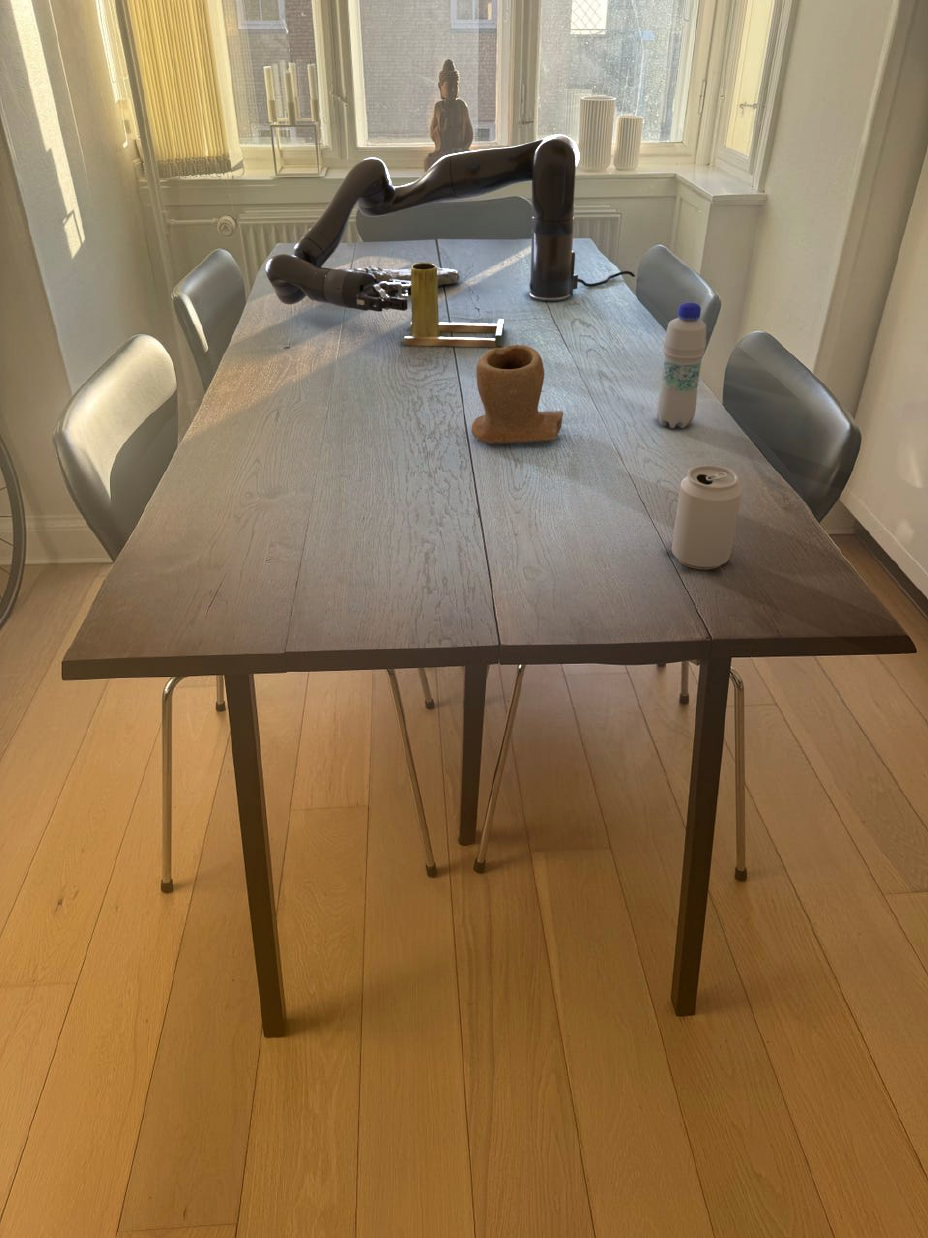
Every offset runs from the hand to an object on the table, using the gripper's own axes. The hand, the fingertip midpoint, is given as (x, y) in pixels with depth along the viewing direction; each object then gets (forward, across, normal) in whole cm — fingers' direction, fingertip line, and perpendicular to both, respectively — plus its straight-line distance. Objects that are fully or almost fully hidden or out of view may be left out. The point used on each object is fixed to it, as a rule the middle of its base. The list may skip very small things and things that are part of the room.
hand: (417, 299), depth 192 cm
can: (+77, -60, +8) cm, 98 cm away
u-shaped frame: (+7, +2, +8) cm, 10 cm away
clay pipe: (+40, -37, +8) cm, 55 cm away
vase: (+2, 0, +8) cm, 8 cm away
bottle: (+61, -19, +8) cm, 64 cm away
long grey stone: (-25, +29, +8) cm, 39 cm away
